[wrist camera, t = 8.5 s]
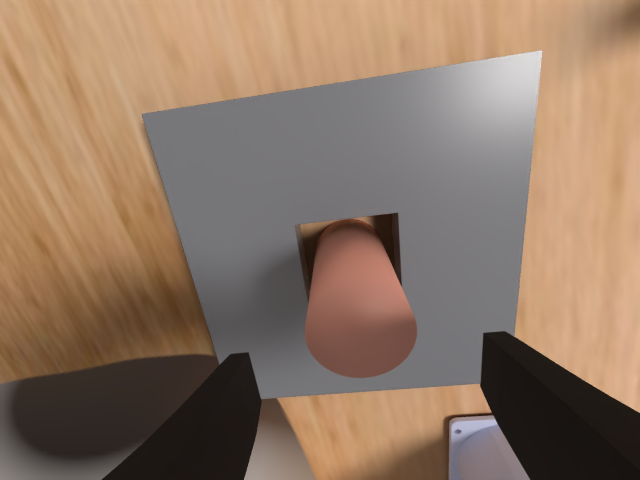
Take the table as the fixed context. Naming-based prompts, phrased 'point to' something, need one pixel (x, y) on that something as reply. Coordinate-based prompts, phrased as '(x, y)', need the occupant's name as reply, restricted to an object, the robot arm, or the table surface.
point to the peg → (357, 304)
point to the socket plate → (357, 210)
